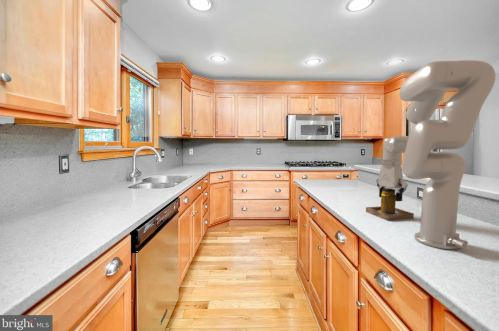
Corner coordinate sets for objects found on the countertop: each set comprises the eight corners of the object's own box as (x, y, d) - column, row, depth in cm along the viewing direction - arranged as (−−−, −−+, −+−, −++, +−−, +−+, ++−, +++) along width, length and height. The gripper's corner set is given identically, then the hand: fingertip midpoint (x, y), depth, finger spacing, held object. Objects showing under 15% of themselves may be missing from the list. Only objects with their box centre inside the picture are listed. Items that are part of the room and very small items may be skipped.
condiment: (378, 210, 115) (379, 187, 114) (397, 212, 112) (399, 188, 111) (381, 214, 108) (382, 189, 107) (402, 216, 105) (403, 191, 104)
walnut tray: (413, 218, 106) (413, 213, 105) (388, 220, 103) (388, 215, 102) (388, 210, 119) (389, 205, 119) (365, 211, 116) (366, 207, 116)
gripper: (371, 162, 116) (370, 196, 117) (400, 164, 99) (399, 203, 100) (383, 162, 118) (382, 195, 119) (414, 164, 101) (412, 202, 102)
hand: (390, 199), depth 110 cm, fingers open, 9 cm apart
